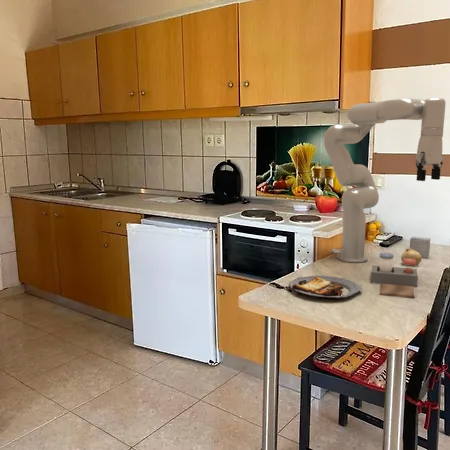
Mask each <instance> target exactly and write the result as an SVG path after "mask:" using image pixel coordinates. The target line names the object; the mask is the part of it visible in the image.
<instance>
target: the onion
mask: <svg viewBox="0 0 450 450" xmlns="http://www.w3.org/2000/svg"><path fill="white" fill-rule="evenodd" d="M404 258H411V259H415V260H416V264H415V265H410V266H411V267H416V266H418V265H419V264H420V263H421V262H422V259H423V258H421V255H420V254H419V253H418V252H417V251H415V250H413V249H410V247H409V248H405V251H403V253H402V254H401V257H400V260H401V262H402V263H403V259H404Z"/></svg>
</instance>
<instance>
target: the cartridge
mask: <svg viewBox="0 0 450 450" xmlns="http://www.w3.org/2000/svg"><path fill="white" fill-rule="evenodd" d="M393 259H394V254H393V253H391V252H380V253H379V266H380V269H379V271H380V272H392V267H393Z"/></svg>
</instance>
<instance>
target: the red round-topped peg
mask: <svg viewBox="0 0 450 450" xmlns="http://www.w3.org/2000/svg"><path fill="white" fill-rule="evenodd" d="M402 264H403V265H408V266H411V265H415V264H416V260H415V259H411V258H404V259H403V262H402ZM404 268H405V273H412V269H413V268H412V267H404Z"/></svg>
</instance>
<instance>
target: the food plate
mask: <svg viewBox="0 0 450 450" xmlns="http://www.w3.org/2000/svg"><path fill="white" fill-rule="evenodd" d="M288 287H289V288H290V289H291V290H293V291H294V292H297V293H300V294H304V295H307V296H309V297H318V298H326V299H330V298H331V299H340V298H343V299H345V298H348V297H352V296H353V295H355V294H356V293H359V292H360V291H363V287H362V286H360V284H358V283H356V282H355V281H352V280H350V279H347V278H342V277H338V276H330V275H329V276H328V275H306V276H299V277H297V278H295V279H293V280H291V281H289V283H288ZM344 289H345V290H346V291H348V292H347V295H344V294H345V291H344ZM343 293H344V294H343ZM341 295H342V296H341Z"/></svg>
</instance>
